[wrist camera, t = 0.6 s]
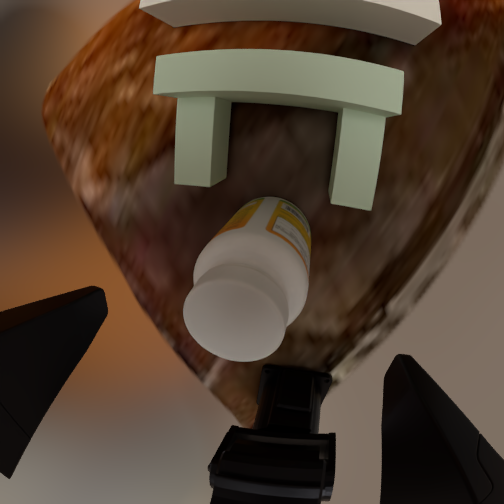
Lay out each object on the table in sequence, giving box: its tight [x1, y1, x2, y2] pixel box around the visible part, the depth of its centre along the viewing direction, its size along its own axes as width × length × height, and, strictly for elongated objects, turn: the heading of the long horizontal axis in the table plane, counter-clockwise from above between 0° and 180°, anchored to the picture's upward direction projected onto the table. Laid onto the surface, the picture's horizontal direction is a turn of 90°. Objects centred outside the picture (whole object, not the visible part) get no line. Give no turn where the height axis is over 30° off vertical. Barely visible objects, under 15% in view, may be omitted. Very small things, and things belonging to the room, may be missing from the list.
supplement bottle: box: [183, 197, 311, 362], centre depth 14 cm, size 5×5×10 cm
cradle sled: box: [153, 49, 404, 211], centre depth 13 cm, size 7×11×6 cm, turn 85°
